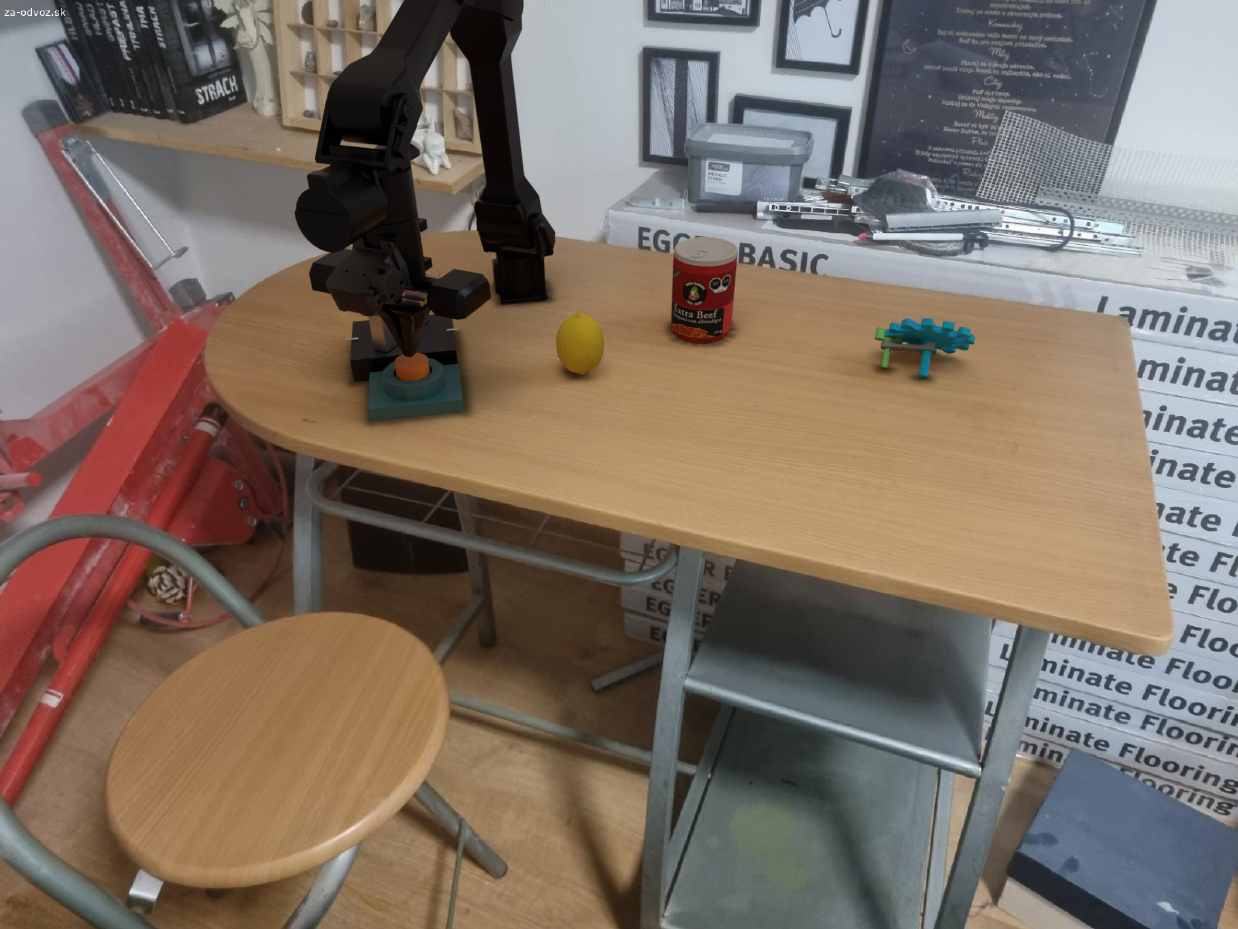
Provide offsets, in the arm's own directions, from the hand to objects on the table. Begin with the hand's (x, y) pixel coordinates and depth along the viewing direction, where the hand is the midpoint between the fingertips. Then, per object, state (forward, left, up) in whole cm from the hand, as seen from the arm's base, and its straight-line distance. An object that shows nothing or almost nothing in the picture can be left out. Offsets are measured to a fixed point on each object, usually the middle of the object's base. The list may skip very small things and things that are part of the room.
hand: (410, 355), depth 95 cm
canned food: (-36, -9, -6) cm, 38 cm away
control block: (0, 0, -6) cm, 6 cm away
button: (0, 0, -2) cm, 2 cm away
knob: (+1, -10, -2) cm, 10 cm away
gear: (-59, +5, -6) cm, 59 cm away
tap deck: (+1, -10, -6) cm, 11 cm away
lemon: (-19, -1, -6) cm, 20 cm away
